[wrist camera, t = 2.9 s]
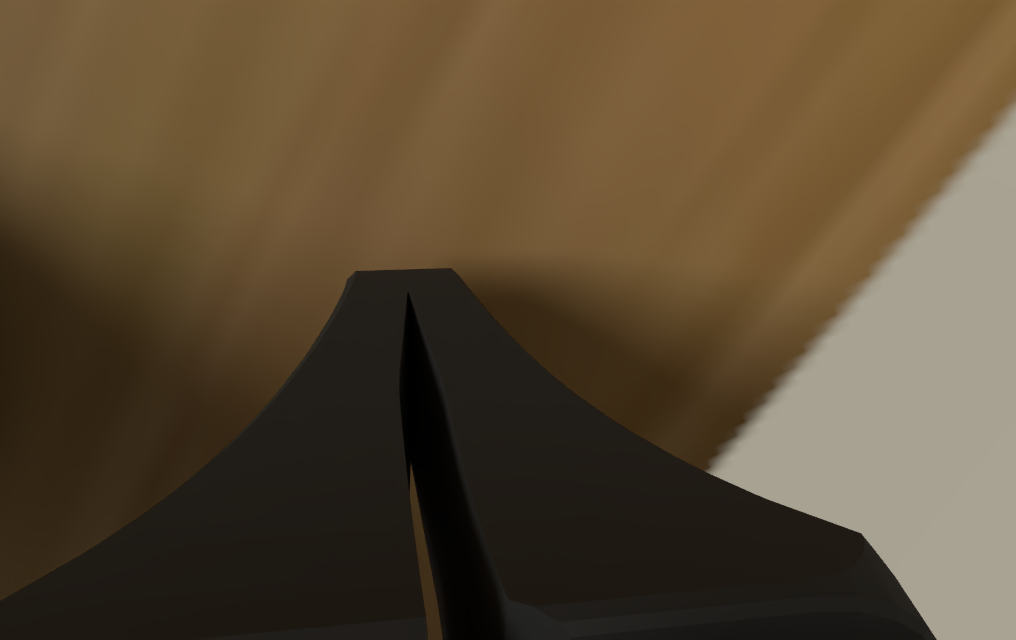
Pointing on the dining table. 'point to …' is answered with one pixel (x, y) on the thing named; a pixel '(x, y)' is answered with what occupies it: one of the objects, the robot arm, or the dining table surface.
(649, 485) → the robot arm
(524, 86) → the dining table surface
